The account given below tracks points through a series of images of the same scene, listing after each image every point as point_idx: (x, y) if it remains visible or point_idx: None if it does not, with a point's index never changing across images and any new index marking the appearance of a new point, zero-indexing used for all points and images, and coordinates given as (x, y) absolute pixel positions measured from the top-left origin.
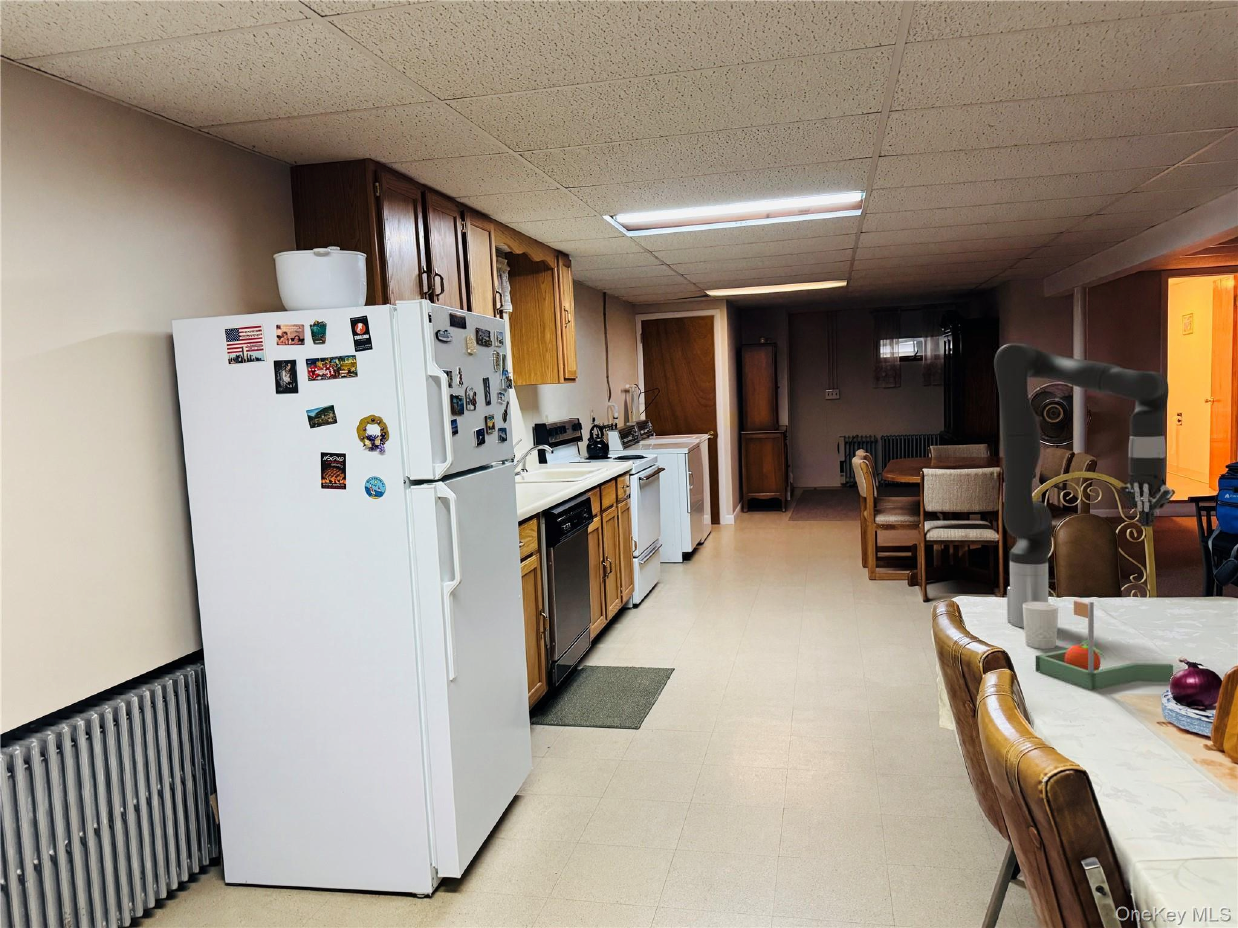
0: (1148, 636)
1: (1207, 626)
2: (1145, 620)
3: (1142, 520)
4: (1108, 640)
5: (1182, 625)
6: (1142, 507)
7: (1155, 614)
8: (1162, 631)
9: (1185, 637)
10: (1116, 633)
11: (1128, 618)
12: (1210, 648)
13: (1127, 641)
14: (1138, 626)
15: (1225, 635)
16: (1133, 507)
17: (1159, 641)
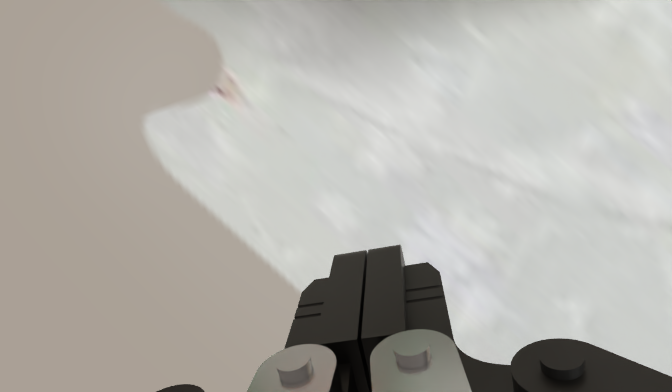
0: (450, 168)
1: None
2: (605, 293)
3: (375, 273)
4: (457, 12)
5: (512, 341)
6: (373, 381)
7: None
8: (481, 246)
9: (404, 256)
10: (518, 99)
11: (650, 265)
12: (293, 233)
13: (426, 64)
14: (557, 224)
15: None
16: (541, 342)
17: (393, 158)
